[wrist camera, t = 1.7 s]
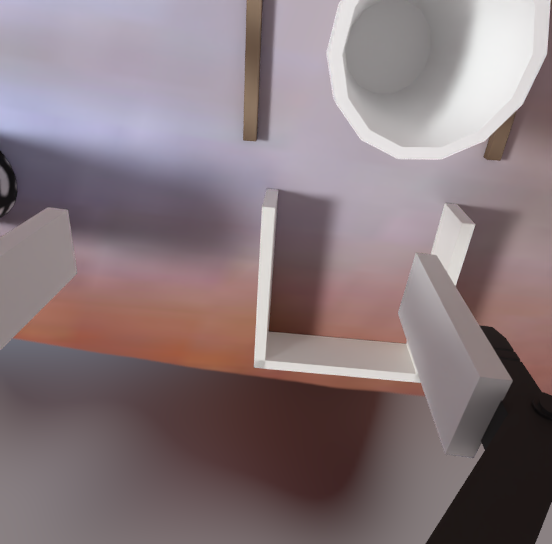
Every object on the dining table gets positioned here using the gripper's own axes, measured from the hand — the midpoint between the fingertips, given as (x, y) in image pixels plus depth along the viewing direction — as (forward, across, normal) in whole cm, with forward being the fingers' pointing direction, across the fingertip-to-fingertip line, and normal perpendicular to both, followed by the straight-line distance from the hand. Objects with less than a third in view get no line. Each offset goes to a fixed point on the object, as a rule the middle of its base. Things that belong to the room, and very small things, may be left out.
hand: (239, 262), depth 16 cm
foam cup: (+20, +7, +8) cm, 23 cm away
